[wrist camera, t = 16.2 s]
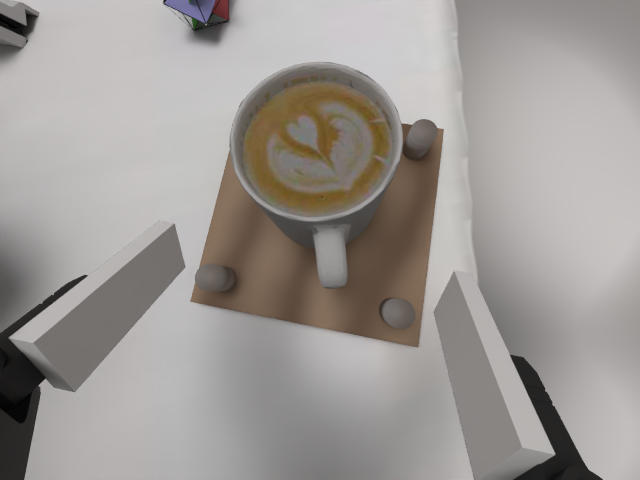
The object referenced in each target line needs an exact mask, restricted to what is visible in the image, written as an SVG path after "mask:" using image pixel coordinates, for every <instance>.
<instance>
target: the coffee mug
mask: <svg viewBox="0 0 640 480" xmlns="http://www.w3.org/2000/svg"><path fill="white" fill-rule="evenodd" d="M402 148H403V132H402V125H401V121H400V118H399V115H398V111H397V109H396V107H395V105H394V103H393V102H392V100H391V99H390V97H389V96H388V94H387V93H386V92H385V91H384V90H383V89H382V87H381V86H380V85H379V84H377V83H376V82H375V81H374V80H372V79H371V78H370V77H368V76H367V75H365V74H363V73H362V72H360V71H358V70H355V69H353V68H350V67H348V66H344V65H340V64H335V63H329V62H311V63H303V64H298V65H294V66H291V67H288V68H285V69H282V70H280V71H278V72H276V73H274V74H272V75H271V76H269V77H268V78H266V79H265V80H263V81H262V82H261V83H260V84H258V85H257V86H256V87H255V88H254V89H253V90H252V91H251V92H250V93H249V94H248V95H247V97H246V98H245V99H244V101H243V102H242V104H241V106H240V108H239V109H238V111H237V113H236V116H235V119H234V121H233V124H232V129H231V133H230V156H231V161H232V165H233V168H234V171H235V173H236V176H237V178H238V180H239V182H240V183H241V185H242V187H243V188H244V190H245V191H246V192H247V193H248V195H249V196H250V197H251V198H252V199H253V200H254V201H255V203H256V204H257V205H258V206H259V207H260V208H261V209H262V210H263V211H264V212H265V213H266V215H267V216H268V217H269V218H270V219H271V220H272V221H273V222H274V223H275V224H276V225H277V227H278V228H279V229H280V230H281V231H282V232H283V233H284V234H285V235H286V236H287V237H288V238H290V239H291V240H293V241H294V242H296V243H298V244H300V245H303V246H306V247H310V248H315V251H316V260H317V269H318V275H319V279H320V284H321V285H322V286H323V287H324V288H326V289H337V288H340V287H343V286H344V285H345V284H346V283H347V277H348V270H347V258H346V248H345V244H347V243H349V242H350V241H352V240H354V239H355V238H356V237H358V236H359V235H360V234H361V233H362V232H363V231H364V230H365V228H366V227H367V226H368V224H369V223H370V221H371V219H372V217H373V215H374V213H375V211H376V210H377V208H378V206H379V204H380V202H381V200H382V198H383V196H384V194H385V192H386V190H387V189H388V187H389V185H390V183H391V181H392V179H393V177H394V175H395V173H396V171H397V168H398V166H399V163H400V158H401V154H402Z"/></svg>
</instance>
